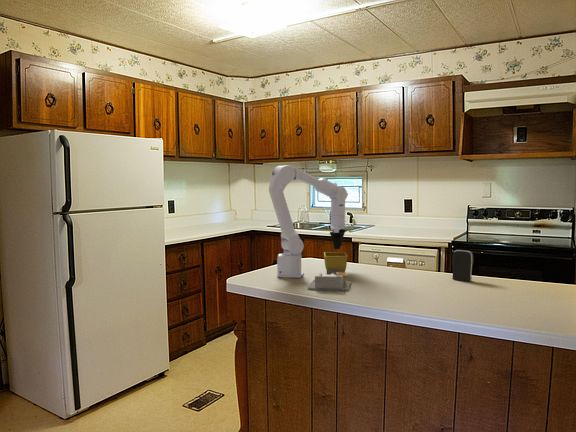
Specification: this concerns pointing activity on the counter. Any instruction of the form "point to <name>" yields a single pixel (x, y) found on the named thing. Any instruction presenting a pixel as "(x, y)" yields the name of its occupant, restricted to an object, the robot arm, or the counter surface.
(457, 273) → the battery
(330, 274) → the plunger
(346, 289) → the gauge housing
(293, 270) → the robot arm
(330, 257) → the flower pot
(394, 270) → the counter surface
